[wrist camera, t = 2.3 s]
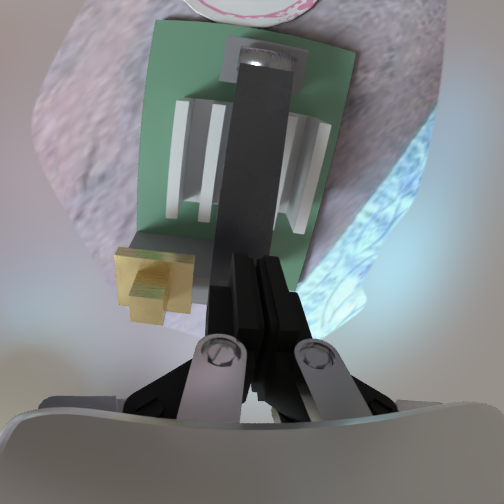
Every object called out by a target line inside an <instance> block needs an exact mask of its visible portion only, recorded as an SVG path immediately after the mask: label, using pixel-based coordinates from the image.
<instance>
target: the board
mask: <svg viewBox="0 0 504 504" xmlns="http://www.w3.org/2000/svg"><path fill="white" fill-rule="evenodd" d="M241 46H245V47H252V48H258V49H264V50H269V51H275V52H280V53H285V54H289V55H294V56H297V57H298V63H297V69H296V73H295V76H294V79H293V84H292V92H291V100H290V108H289V116H288V124H287V131H286V139H285V147H284V154H283V162H282V169H281V176H280V184H279V191H278V198H277V205H276V213H275V220H274V227H273V234H272V241H271V247H270V254H269V256H277V257H279V260H280V263H281V266H282V270H283V273H284V276H285V280H286V283H287V287H288V290H292V291H295V290H296V287H297V284H298V281H299V277H300V274H301V271H302V267H303V264H304V261H305V257H306V254H307V250H308V247H309V243H310V240H311V236H312V233H313V229H314V226H315V222H316V219H317V215H318V211H319V208H320V204H321V200H322V197H323V193H324V189H325V185H326V182H327V178H328V174H329V170H330V166H331V162H332V158H333V154H334V150H335V146H336V142H337V138H338V133H339V129H340V125H341V121H342V116H343V112H344V108H345V103H346V99H347V94H348V90H349V85H350V80H351V76H352V71H353V66H354V61H355V56H356V53H354V52H351V51H348V50H345V49H342V48H338V47H335V46H332V45H328V44H324V43H321V42H317V41H313V40H309V39H305V38H301V37H297V36H292V35H288V34H283V33H278V32H273V31H268V30H262V29H256V28H250V27H243V26H236V25H228V24H219V23H209V22H197V21H180V20H156V21H155V27H154V32H153V38H152V44H151V50H150V56H149V63H148V69H147V77H146V84H145V93H144V101H143V111H142V121H141V133H140V147H139V164H138V187H137V232H136V234H135V236H134V238H133V240H132V242H131V244H130V246H129V248H133V249H142V250H150V251H159V252H168V253H177V254H186V255H195V265H194V277H193V290H192V303H196V304H206V305H207V301H208V291H209V282H210V272H211V263H212V254H213V245H214V237H215V228H216V220H217V212H218V204H219V196H220V189H221V181H222V174H223V166H224V159H225V152H226V145H227V138H228V132H229V125H230V119H231V112H232V106H233V100H234V93H235V87H236V81H237V75H238V72H236V69H237V63H238V58H239V53H240V48H241Z"/></svg>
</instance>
